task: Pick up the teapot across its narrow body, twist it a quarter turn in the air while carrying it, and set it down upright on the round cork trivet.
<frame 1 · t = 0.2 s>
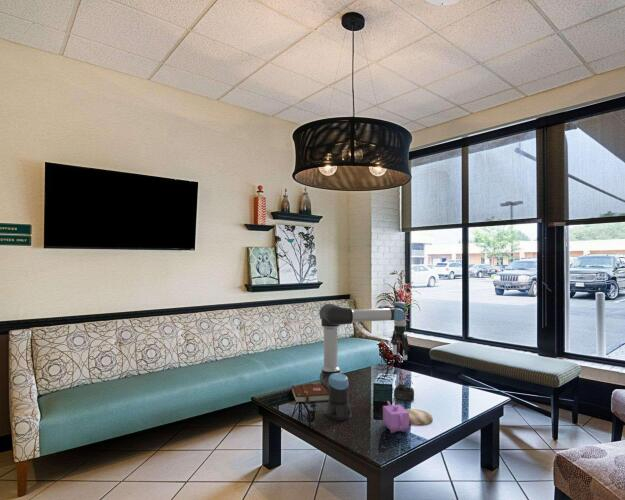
hand: (399, 357, 255), 28 cm above the table, fingers open, 13 cm apart
teapot: (394, 428, 212), on the table
camera: (403, 398, 256), on the table
book: (316, 395, 262), on the table
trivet: (414, 417, 225), on the table
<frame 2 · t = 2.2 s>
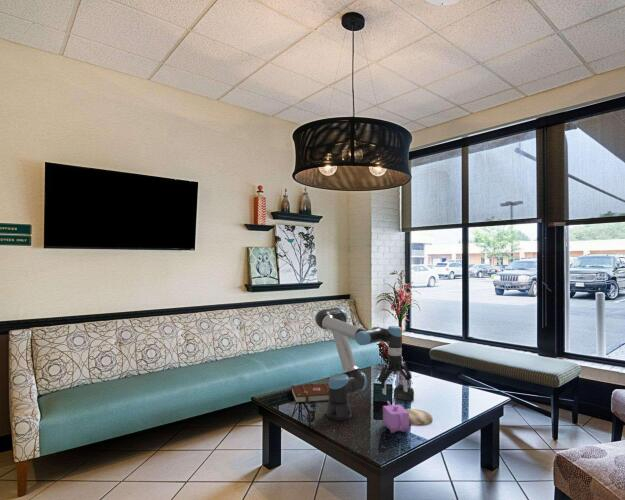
hand: (394, 392, 214), 19 cm above the table, fingers open, 13 cm apart
nothing on the table moved.
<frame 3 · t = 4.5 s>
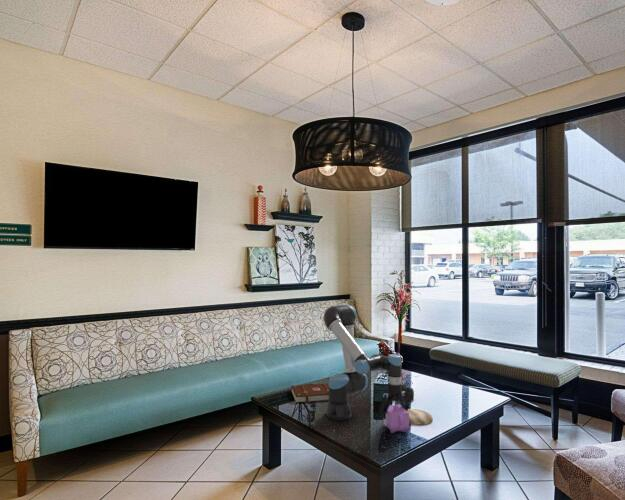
hand: (394, 423, 212), 2 cm above the table, fingers closed on teapot, 10 cm apart
teapot: (394, 428, 212), on the table, touching gripper
everything else where it was.
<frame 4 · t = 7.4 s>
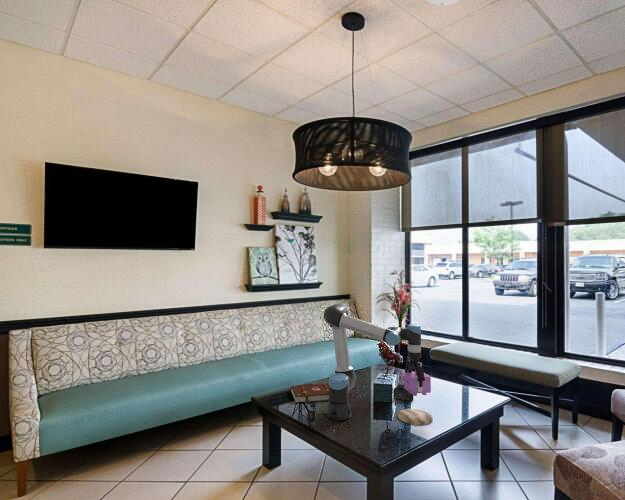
hand: (414, 388, 225), 17 cm above the table, fingers closed on teapot, 10 cm apart
teapot: (414, 393, 225), point 15 cm above the table, touching gripper
everything else where it was.
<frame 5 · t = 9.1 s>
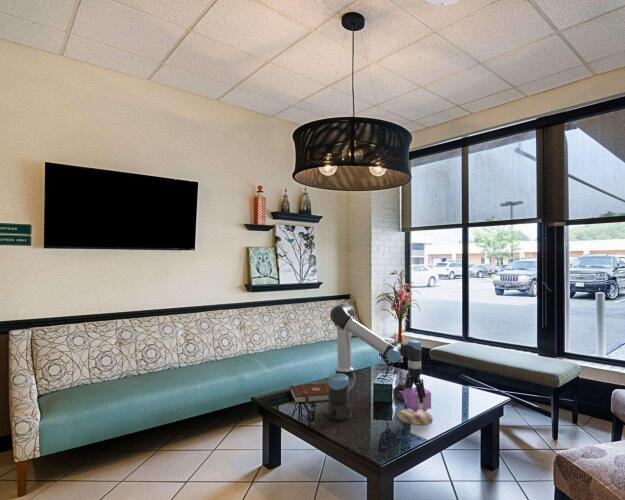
hand: (415, 404, 225), 8 cm above the table, fingers closed on teapot, 10 cm apart
teapot: (415, 409, 225), point 5 cm above the table, touching gripper
everything else where it was.
when the fingers open (5 cm above the table, at t = 10.3 s): teapot drops 1 cm, resting on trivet.
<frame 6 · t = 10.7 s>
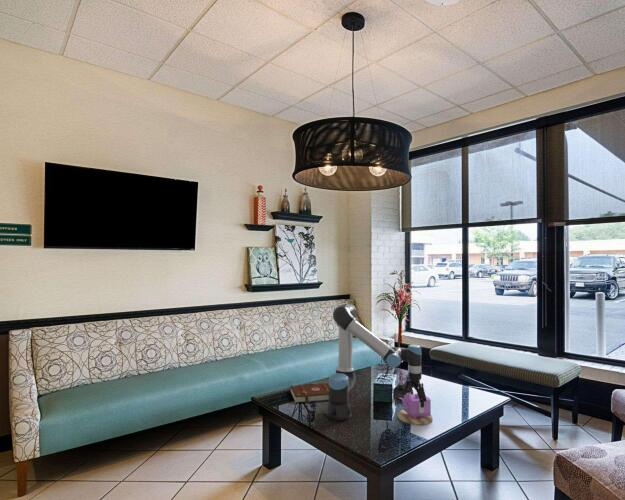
hand: (414, 408, 225), 6 cm above the table, fingers open, 13 cm apart
teapot: (414, 416, 225), point 1 cm above the table, touching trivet
everything else where it was.
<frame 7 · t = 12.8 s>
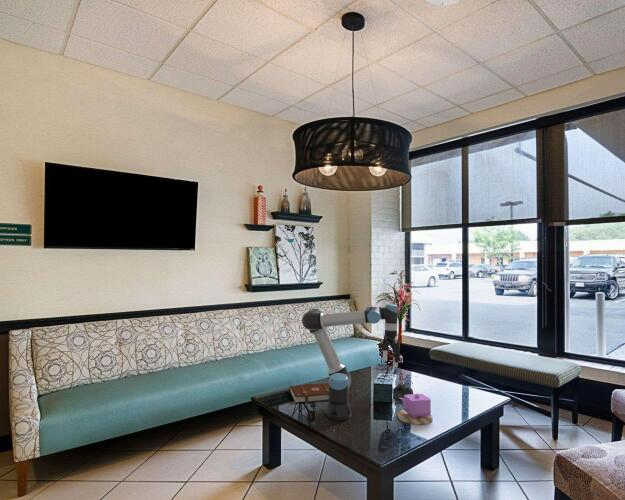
hand: (389, 364, 236), 29 cm above the table, fingers open, 13 cm apart
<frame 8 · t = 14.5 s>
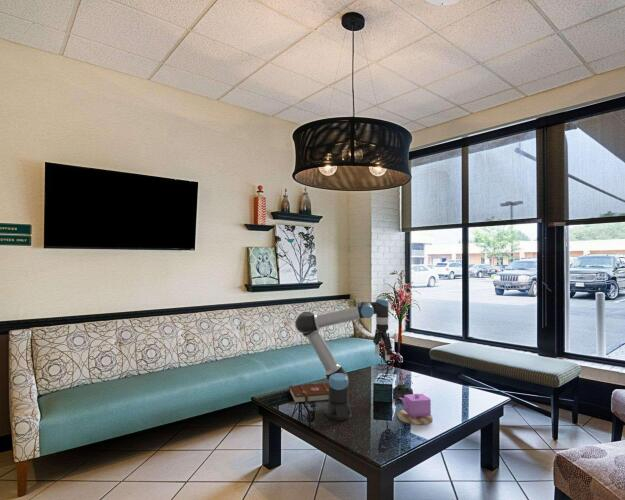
hand: (382, 357, 239), 32 cm above the table, fingers open, 13 cm apart
at the end: teapot 0.1 cm from the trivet (horizontally); teapot tilted 0°; teapot touching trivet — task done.
